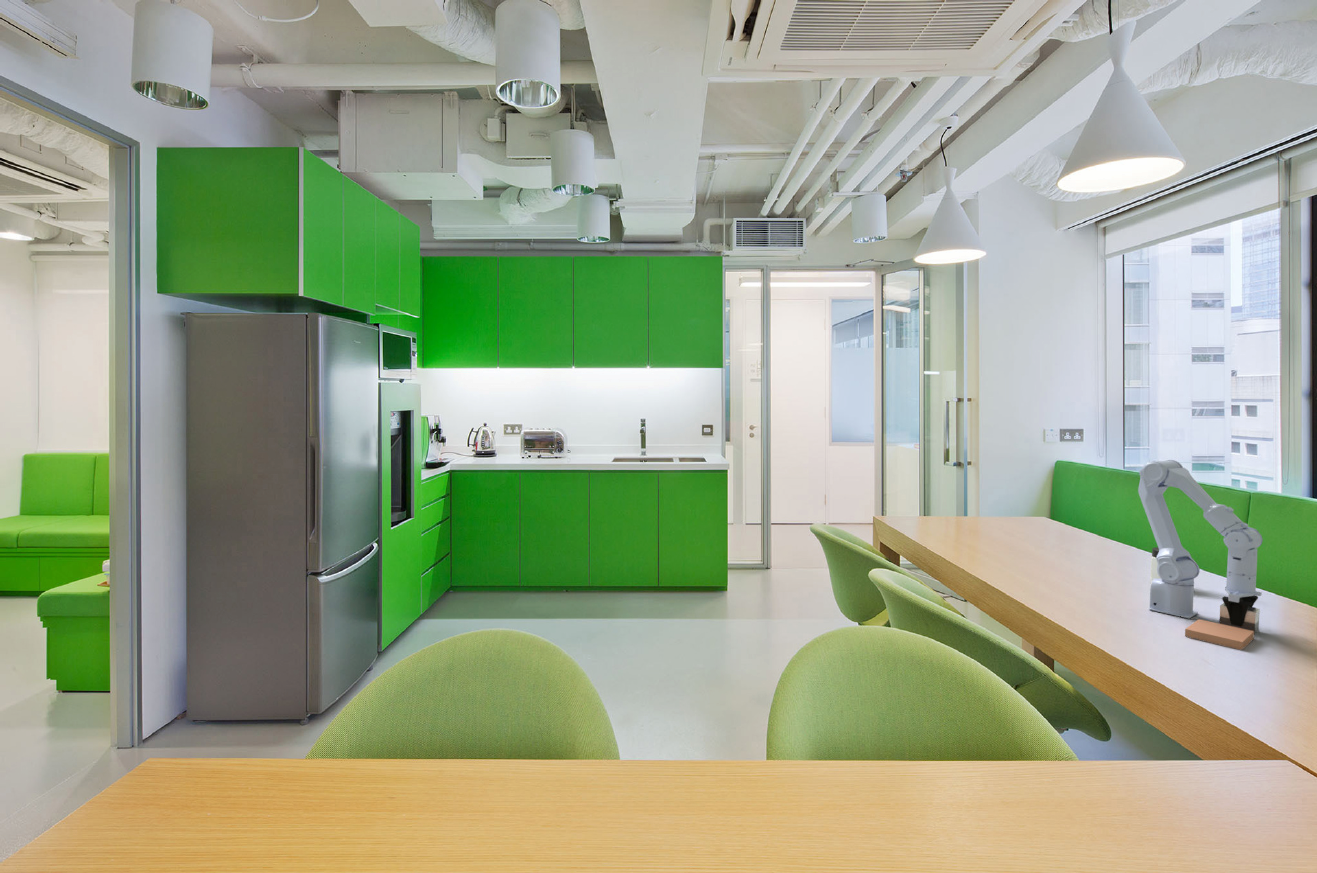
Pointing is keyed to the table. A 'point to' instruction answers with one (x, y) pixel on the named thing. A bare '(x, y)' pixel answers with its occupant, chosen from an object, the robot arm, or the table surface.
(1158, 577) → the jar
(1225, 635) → the stand
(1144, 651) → the table surface
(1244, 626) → the block
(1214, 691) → the table surface
